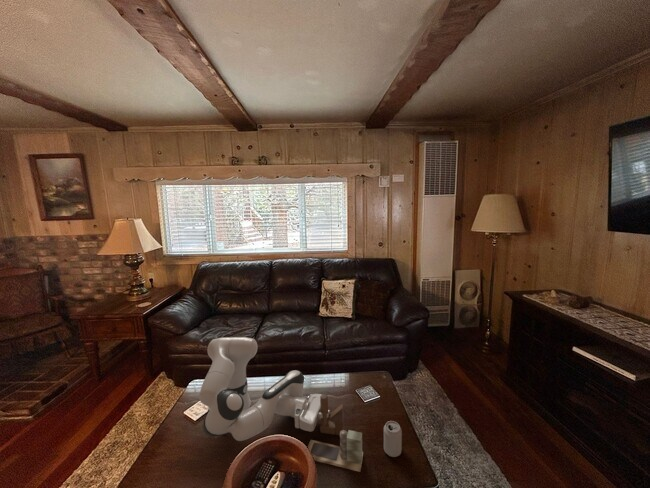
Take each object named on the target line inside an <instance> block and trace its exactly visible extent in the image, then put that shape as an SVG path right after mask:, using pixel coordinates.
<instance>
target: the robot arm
mask: <svg viewBox="0 0 650 488" xmlns="http://www.w3.org/2000/svg"><path fill="white" fill-rule="evenodd" d="M206 351H207V355H208V357H209V358H210V359H211V361H212V363H211V366H210V367H209V370H208V372H207V373H206V376H205V378H204V380H203V382H202V385H201V387H200V391H199V394H198V396H199V397H198V399H199V401H200V403H201V404H202V405H204V406H207V411H208V412H207V413H206V414H205V416H204V419H203V422H202V430H203V432H204V434H205V435H206V436H208V437H212V438H216V437H227V436H228V435H229V434H231V436H232V438H233V439H234V440H235V441H238V442H242V441H247V440H248V439H251V438H253V437H255V436H257V435H259V434H260V433H262V432H264V431H265V430H266V429H267V428H268V427H269V426H270V425H271V423H272V422H273V420H274V416H275V414H277V415H280V416H283V417H291V418H294V427H295V429H301V430H302V431H306V432H314V431H315V428H316V427H317V426H316V425H317V424H318V421H319V419H321V418H323V414H322V413H321V405H320V396H321V395H322V394H323V393H311V394H310V395H307V398H305V397H304V383H305V376H304V374H303V373H302V372H301V371H300V370H299V369H298V370H297V369H295V370H289V372H287V373H286V374H285V375H284V376H283V377H282V378H280V380H278V381H277V382H275V383H274V384H273V385H271V386H270V387H268V388H267V389H266V390H265V391H264V392H263V394H262V395H261V396H260V398H259V399H258V400H257V401H256V402H255V403H254V404H253V405H252V401H251V398H250V395H249V391H248V390H249V389H248V387H249V385H248V378H247V365H248V363H249V361H250V360H251V359H253V358H254V357H255V356H256V354H257V352H258V342H257V341H256V339H255V338H251V337H247V336H246V337H245V336H244V337H243V336H234V337H232V336H231V337H228V336H227V337H225V336H224V337H218V338H214V339H213V338H212V340H211V341H210V342H209V343H208V345H207V350H206ZM283 393H284V394H283ZM330 413H331V410H330V409H328V413H327V418H328V417H329V414H330Z"/></svg>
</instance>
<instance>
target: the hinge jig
mask: <svg viewBox="0 0 650 488" xmlns="http://www.w3.org/2000/svg"><path fill="white" fill-rule="evenodd" d="M307 447H308V448H309V450H310V452H311V453H312V455H313V457H314V460H313V461H315V462H319V463H322V464H328V465H331V466H335V467H339V468H343V469H347V470H351V471H354V472H359V473H361V470H362V464H363V459H364V458H363V457H364V451H363V432H359V431H356V430H351V429H348V431H347V430H345V429H344V430H342V431H340V435H339V445H335V444H330V443H327V442H322V441H318V440H315V439H314V440H313V439H310V441H309V443H308V445H307Z"/></svg>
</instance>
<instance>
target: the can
mask: <svg viewBox="0 0 650 488" xmlns="http://www.w3.org/2000/svg"><path fill="white" fill-rule="evenodd" d="M402 432H403V430H402V427H401V426H400V424H399V423H398V422H397V421H394V420H389V421H387V422H386V423H385V425H384V426H383V450H384V452H385V454H387V455H388V456H389V457H392V458H396V457H398V456H400V455H401V454H402V445H403V444H402V443H403V442H402V441H403V437H402V436H403V433H402Z"/></svg>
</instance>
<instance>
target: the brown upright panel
mask: <svg viewBox="0 0 650 488" xmlns="http://www.w3.org/2000/svg"><path fill="white" fill-rule="evenodd" d="M321 394H322V395H321V396H320V405H321V413H322V414H323V418H320V427H319V430H320V431H319V432H320V433H321V434H325V435H333V436H335V435H336V436H340V431H342V430H345V428H344V426H345V424H344V403H341V404H339V405H338V406H337V407H336V408H335V409H333V411H330V414H329V417H328V418H327V413H328V410H329V398H328V397H329V396H328V394H327V393H321Z"/></svg>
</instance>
